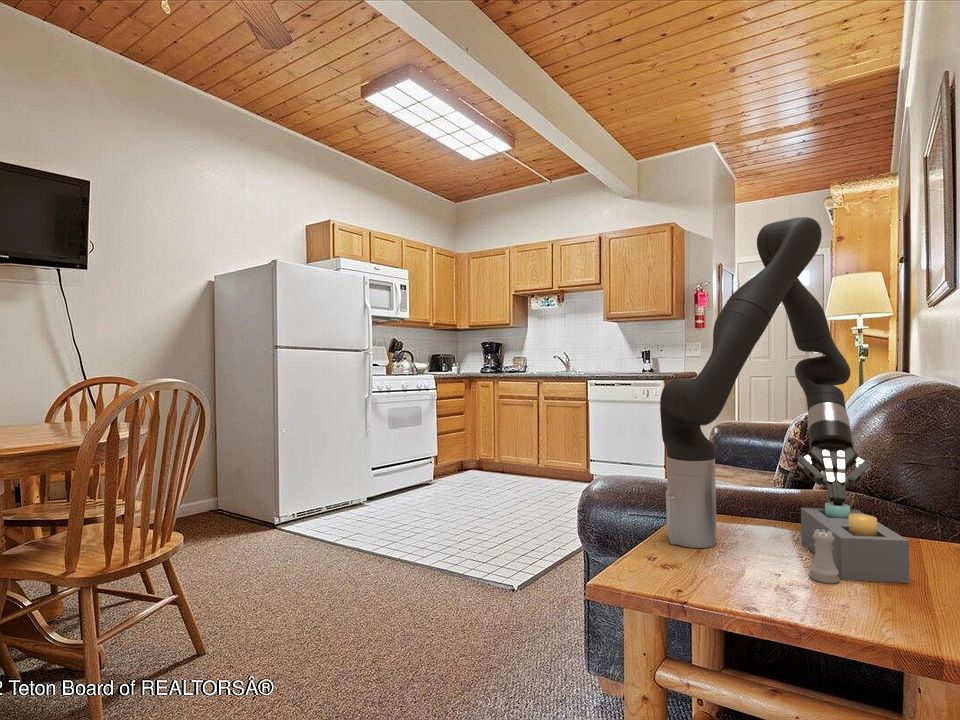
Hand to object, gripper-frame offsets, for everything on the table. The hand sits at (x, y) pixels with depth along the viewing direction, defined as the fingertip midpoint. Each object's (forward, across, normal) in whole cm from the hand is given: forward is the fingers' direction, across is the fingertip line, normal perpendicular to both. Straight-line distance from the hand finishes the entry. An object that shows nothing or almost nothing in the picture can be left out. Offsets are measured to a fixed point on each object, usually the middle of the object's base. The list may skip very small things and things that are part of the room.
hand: (838, 502), depth 103 cm
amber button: (+9, +2, -4) cm, 10 cm away
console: (+10, +1, +3) cm, 10 cm away
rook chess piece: (+18, -4, -4) cm, 18 cm away
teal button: (+3, 0, +3) cm, 4 cm away
